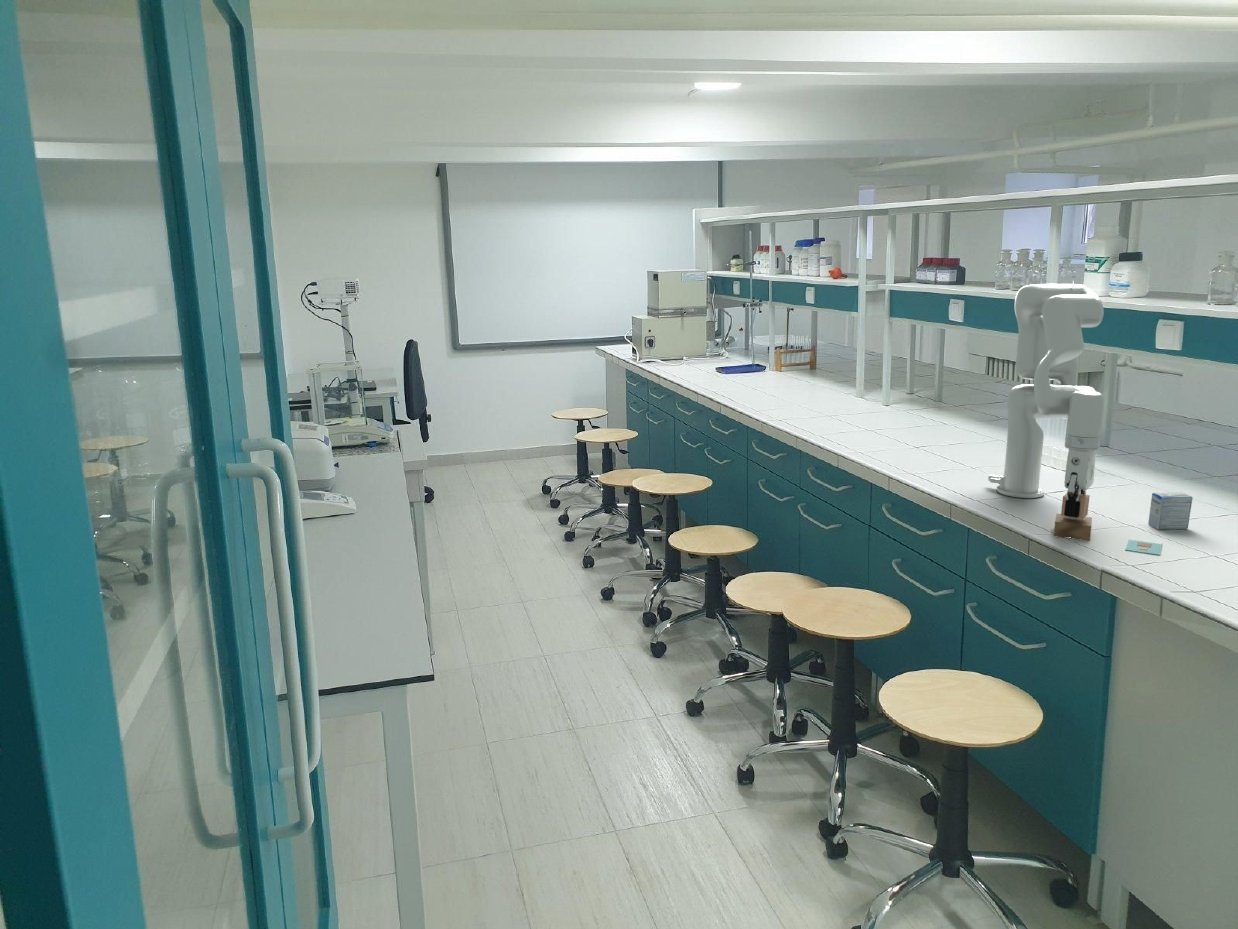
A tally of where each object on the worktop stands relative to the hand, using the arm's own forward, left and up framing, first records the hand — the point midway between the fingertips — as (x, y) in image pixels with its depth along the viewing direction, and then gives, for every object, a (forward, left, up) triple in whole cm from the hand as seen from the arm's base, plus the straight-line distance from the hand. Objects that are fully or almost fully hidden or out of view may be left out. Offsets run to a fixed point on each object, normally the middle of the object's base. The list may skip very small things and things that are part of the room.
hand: (1074, 513), depth 226 cm
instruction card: (+16, -2, -5) cm, 17 cm away
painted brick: (0, 0, -1) cm, 1 cm away
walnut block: (0, 0, -6) cm, 6 cm away
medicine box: (+18, +20, -6) cm, 28 cm away
